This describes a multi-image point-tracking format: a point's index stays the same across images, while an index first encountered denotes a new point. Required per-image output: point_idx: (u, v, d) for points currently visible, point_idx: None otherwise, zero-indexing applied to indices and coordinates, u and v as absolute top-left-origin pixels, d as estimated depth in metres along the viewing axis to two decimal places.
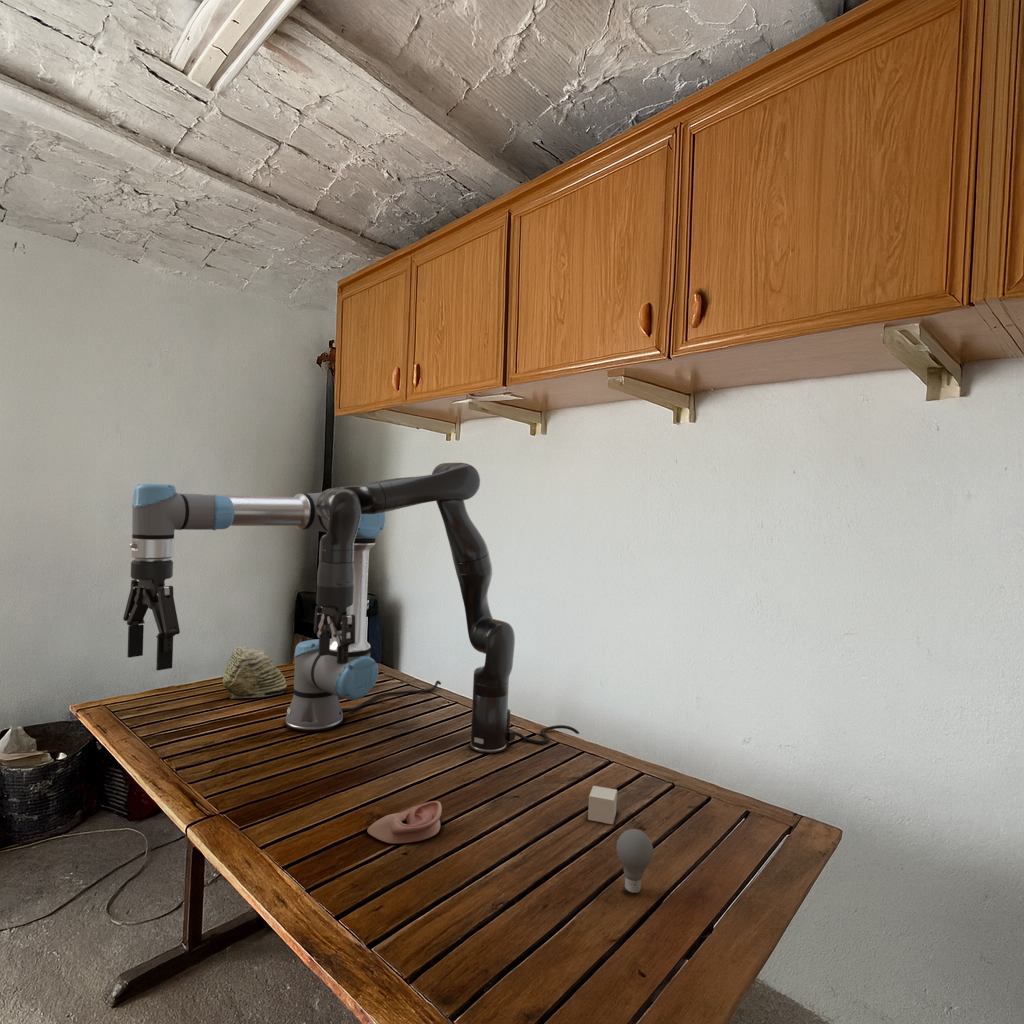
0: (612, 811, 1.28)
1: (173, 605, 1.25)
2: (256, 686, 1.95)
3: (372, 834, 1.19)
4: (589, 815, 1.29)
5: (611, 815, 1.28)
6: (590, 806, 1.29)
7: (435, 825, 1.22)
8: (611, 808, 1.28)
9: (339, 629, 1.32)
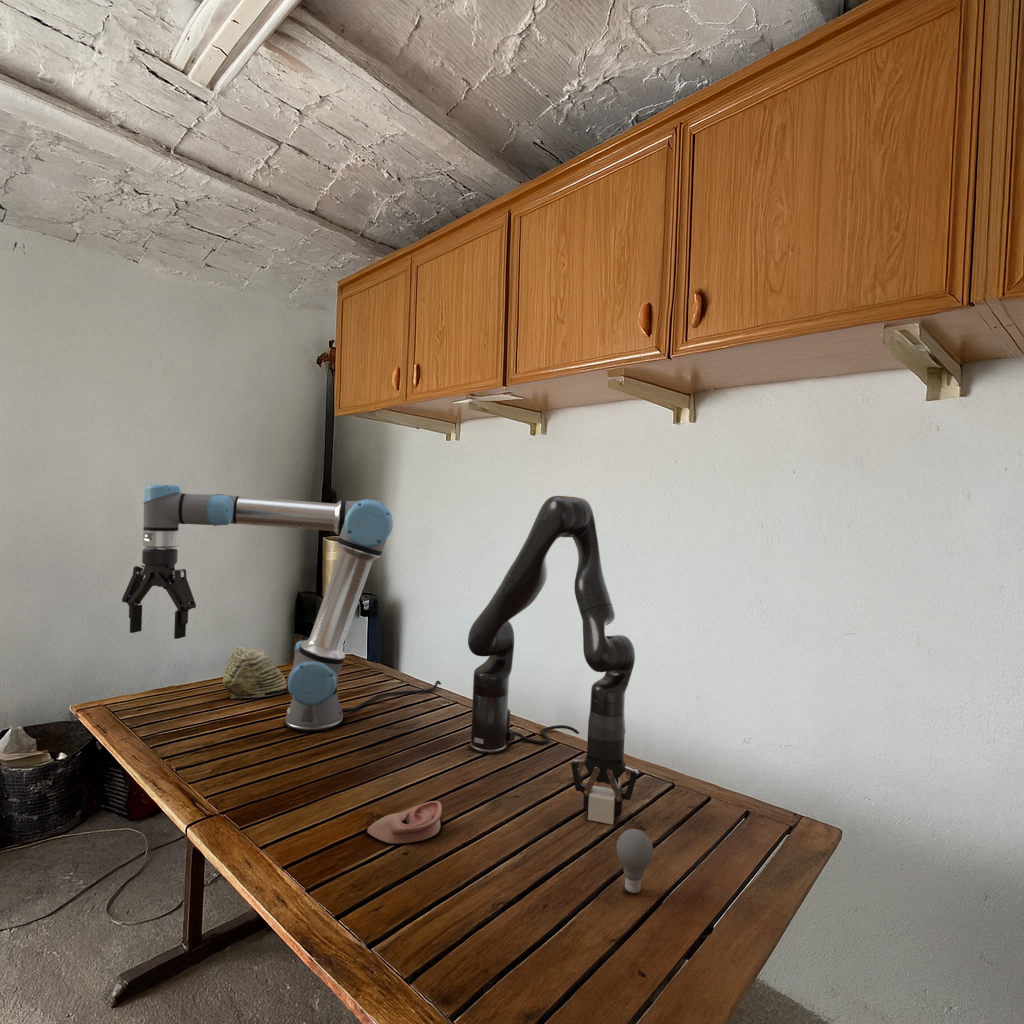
0: (612, 811, 1.28)
1: (187, 585, 1.53)
2: (256, 686, 1.95)
3: (372, 834, 1.19)
4: (589, 815, 1.29)
5: (611, 815, 1.28)
6: (590, 806, 1.29)
7: (435, 825, 1.22)
8: (611, 808, 1.28)
9: None
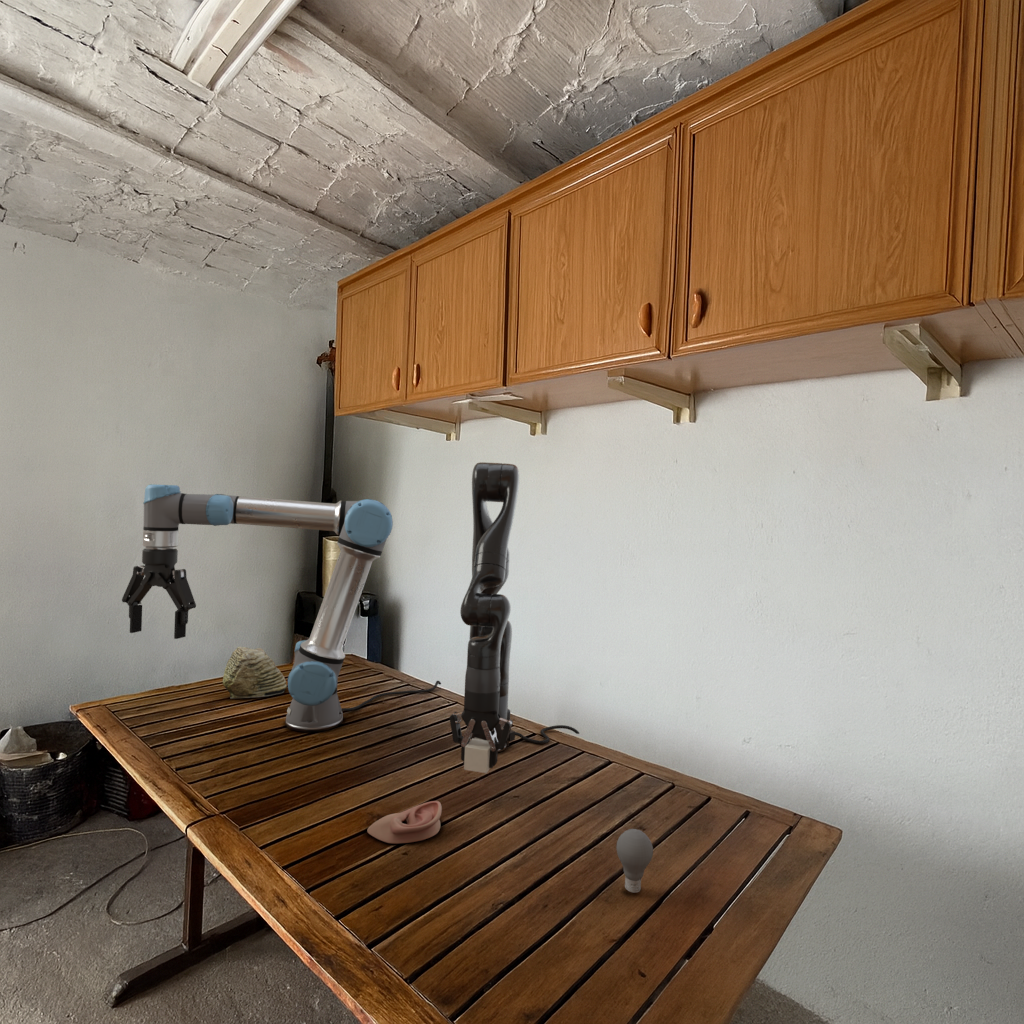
0: (486, 760, 1.33)
1: (187, 585, 1.53)
2: (256, 686, 1.95)
3: (372, 834, 1.19)
4: (465, 765, 1.34)
5: (485, 764, 1.33)
6: (466, 756, 1.34)
7: (435, 825, 1.22)
8: (485, 758, 1.33)
9: None
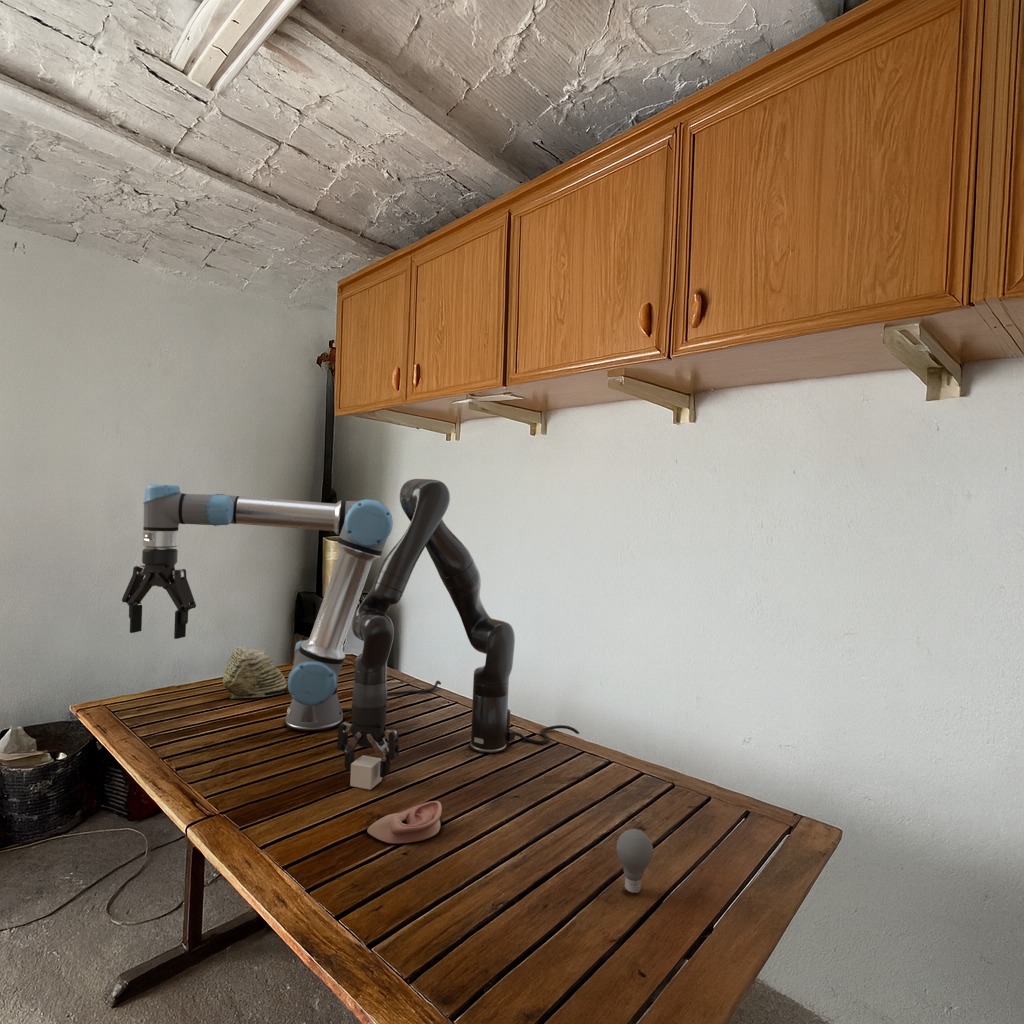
0: (370, 777, 1.38)
1: (187, 585, 1.53)
2: (256, 686, 1.95)
3: (372, 834, 1.19)
4: (351, 781, 1.39)
5: (369, 781, 1.38)
6: (352, 773, 1.39)
7: (435, 825, 1.22)
8: (369, 775, 1.38)
9: None
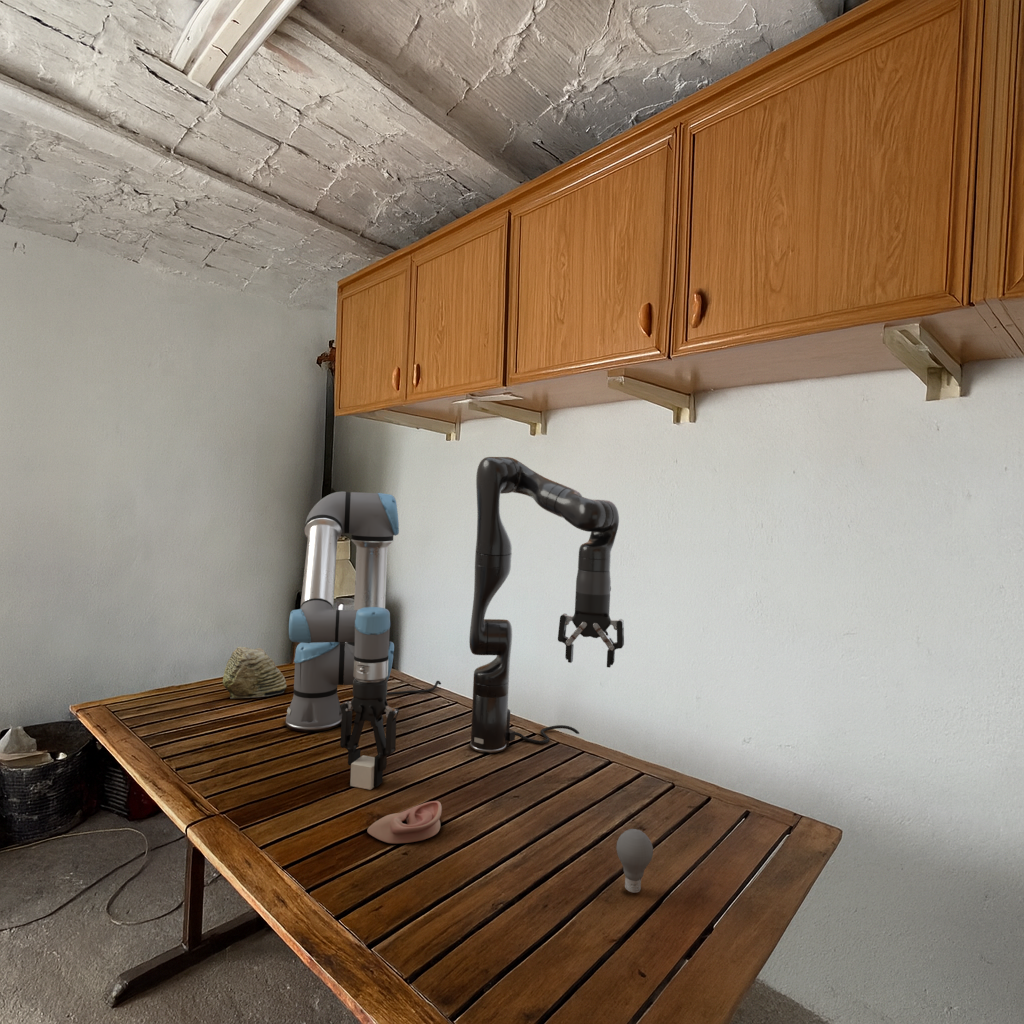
0: (370, 777, 1.38)
1: (395, 726, 1.40)
2: (256, 686, 1.95)
3: (372, 834, 1.19)
4: (351, 781, 1.39)
5: (369, 781, 1.38)
6: (352, 773, 1.39)
7: (435, 825, 1.22)
8: (369, 775, 1.38)
9: None
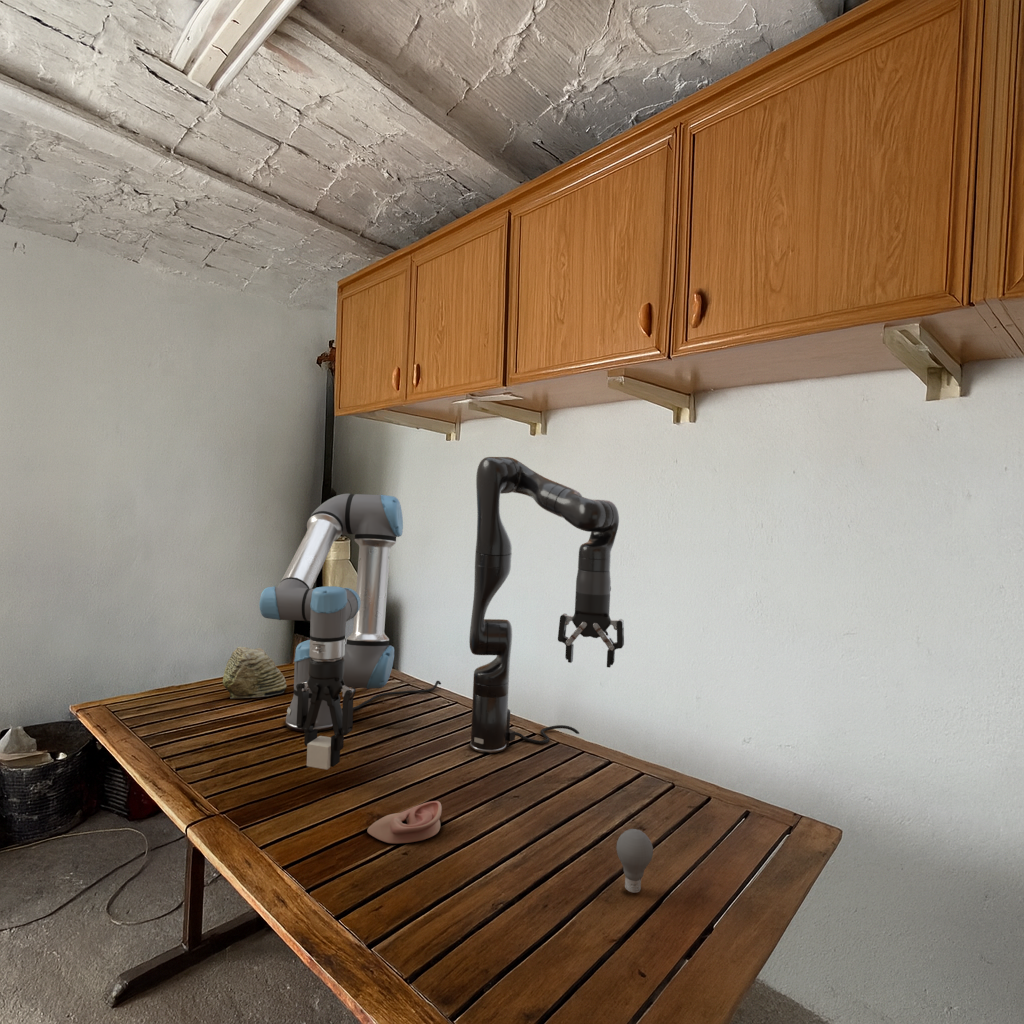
0: (326, 757, 1.37)
1: (352, 706, 1.39)
2: (256, 686, 1.95)
3: (372, 834, 1.19)
4: (307, 762, 1.38)
5: (326, 761, 1.37)
6: (308, 753, 1.38)
7: (435, 825, 1.22)
8: (325, 755, 1.37)
9: None
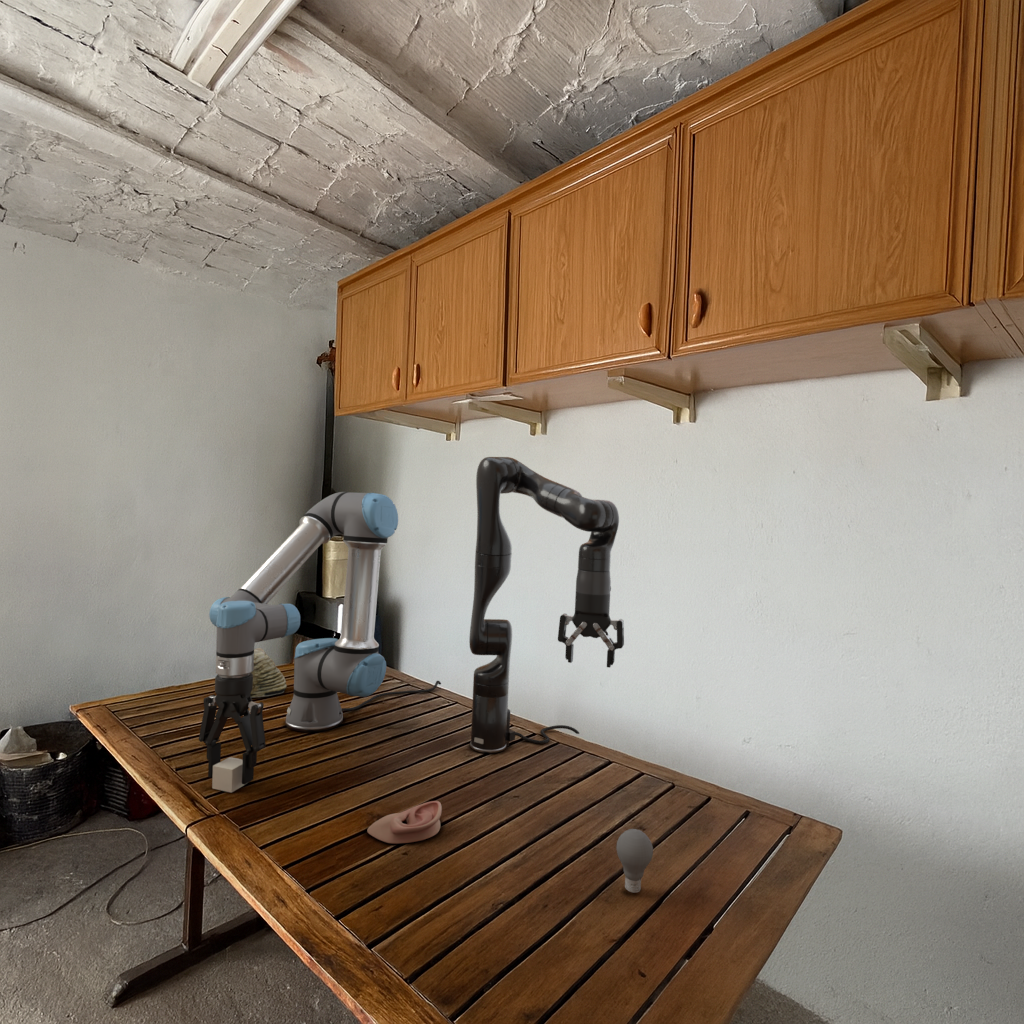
0: (231, 780, 1.34)
1: (262, 721, 1.36)
2: (256, 686, 1.95)
3: (372, 834, 1.19)
4: (213, 784, 1.35)
5: (230, 784, 1.34)
6: (214, 775, 1.35)
7: (435, 825, 1.22)
8: (230, 777, 1.34)
9: None
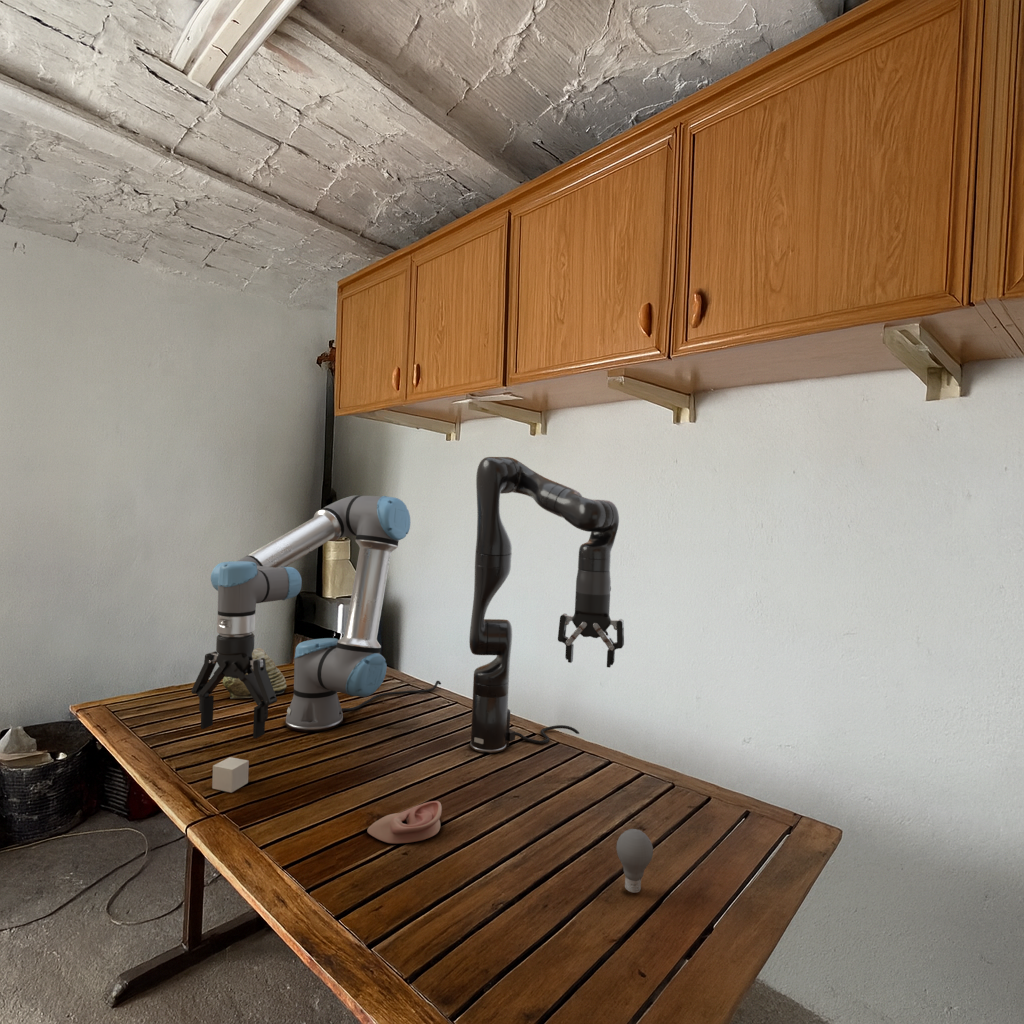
0: (231, 780, 1.34)
1: (267, 676, 1.35)
2: None
3: (372, 834, 1.19)
4: (213, 784, 1.35)
5: (230, 784, 1.34)
6: (214, 775, 1.35)
7: (435, 825, 1.22)
8: (230, 777, 1.34)
9: None
